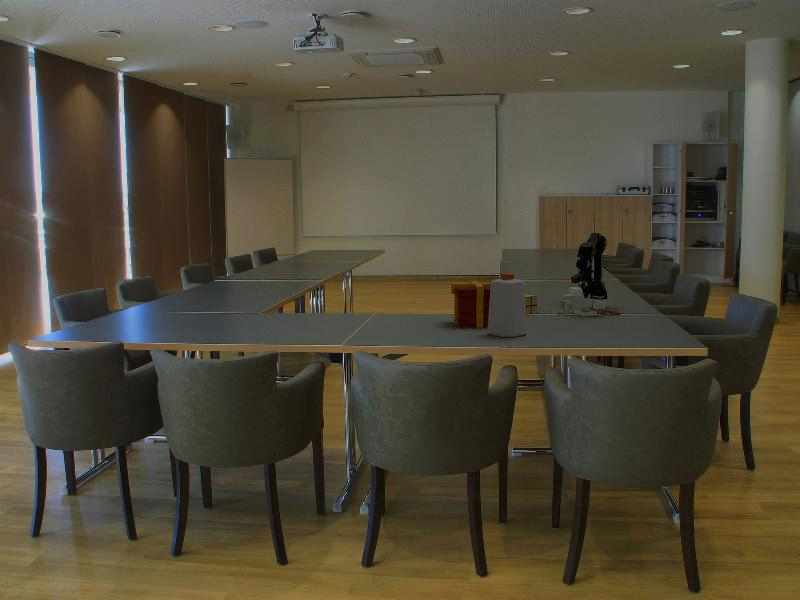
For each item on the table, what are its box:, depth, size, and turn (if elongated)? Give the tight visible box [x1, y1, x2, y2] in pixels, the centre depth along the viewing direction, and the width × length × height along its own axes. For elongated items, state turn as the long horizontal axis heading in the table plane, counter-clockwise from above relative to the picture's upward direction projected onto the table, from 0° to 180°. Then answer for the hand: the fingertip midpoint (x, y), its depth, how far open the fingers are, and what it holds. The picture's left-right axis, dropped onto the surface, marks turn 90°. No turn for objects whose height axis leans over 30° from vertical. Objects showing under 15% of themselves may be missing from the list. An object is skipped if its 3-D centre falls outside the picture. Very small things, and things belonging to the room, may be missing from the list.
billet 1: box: [559, 300, 573, 315], centre depth 419 cm, size 4×4×7 cm
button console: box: [574, 309, 598, 317], centre depth 413 cm, size 8×8×3 cm
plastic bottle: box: [486, 272, 528, 339], centre depth 362 cm, size 15×15×28 cm
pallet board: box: [590, 308, 622, 317], centre depth 416 cm, size 18×10×3 cm, turn 22°
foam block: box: [561, 286, 583, 303], centre depth 475 cm, size 10×10×8 cm
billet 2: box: [592, 299, 607, 311], centre depth 420 cm, size 4×4×7 cm
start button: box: [581, 306, 591, 312], centre depth 413 cm, size 4×4×3 cm
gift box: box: [450, 280, 491, 329], centre depth 392 cm, size 25×25×20 cm
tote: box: [550, 311, 575, 317], centre depth 419 cm, size 11×11×1 cm
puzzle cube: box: [525, 293, 538, 315], centre depth 426 cm, size 10×10×10 cm
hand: (585, 298), depth 412 cm, fingers closed
